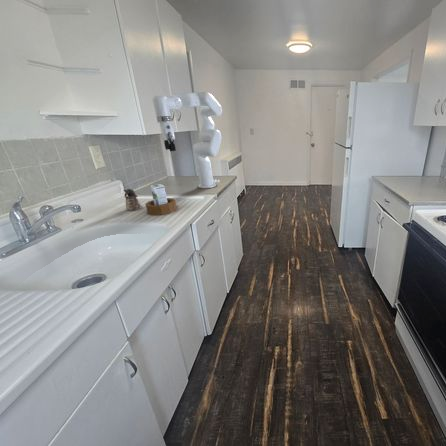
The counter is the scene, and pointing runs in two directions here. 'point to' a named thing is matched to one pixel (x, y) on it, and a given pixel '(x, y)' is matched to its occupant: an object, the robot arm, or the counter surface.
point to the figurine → (131, 200)
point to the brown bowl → (161, 207)
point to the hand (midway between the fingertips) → (170, 150)
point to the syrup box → (159, 194)
